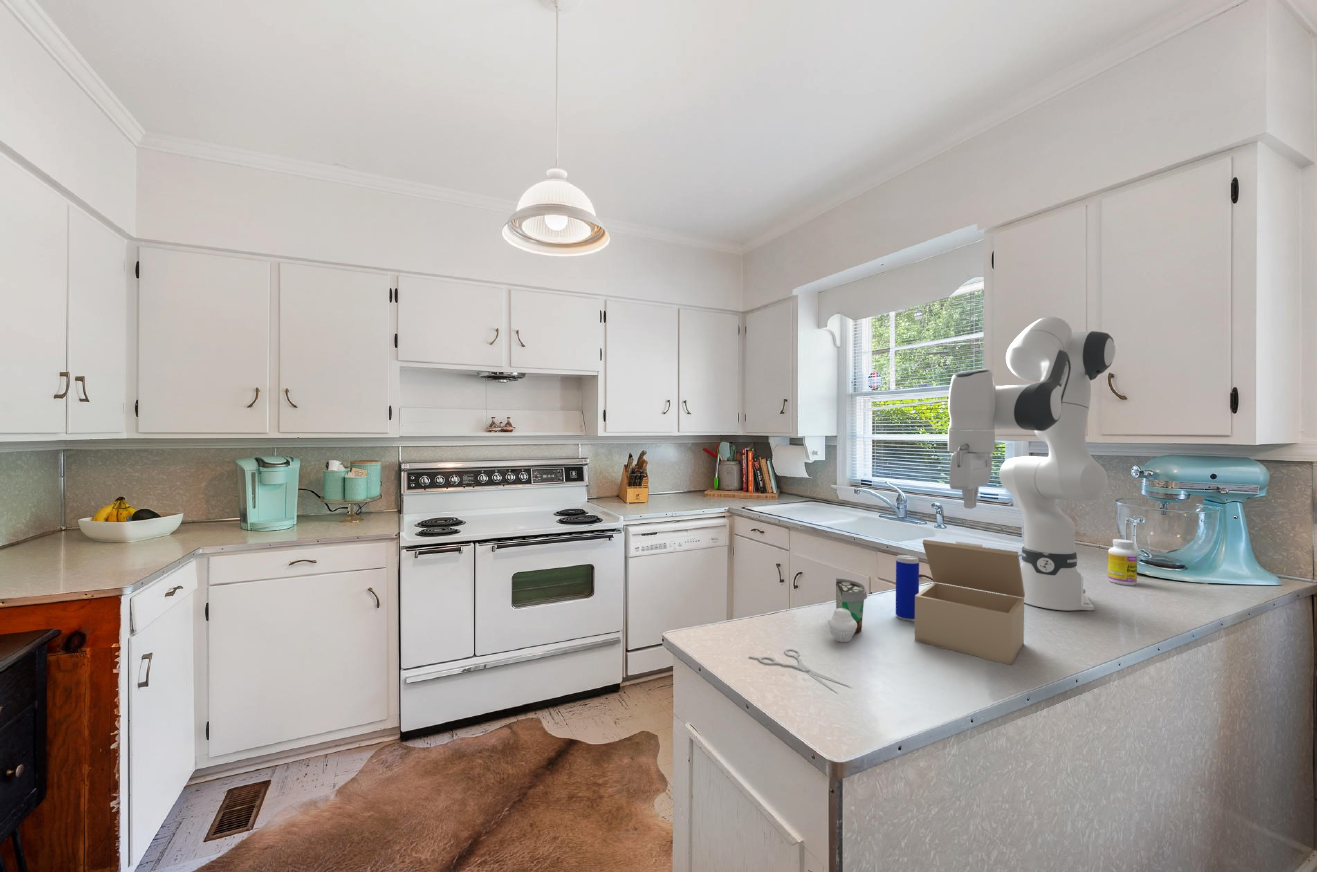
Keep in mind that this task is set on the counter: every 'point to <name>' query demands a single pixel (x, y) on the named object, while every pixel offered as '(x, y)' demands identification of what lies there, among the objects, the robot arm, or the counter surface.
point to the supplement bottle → (1122, 563)
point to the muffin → (842, 625)
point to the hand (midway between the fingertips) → (970, 507)
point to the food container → (851, 599)
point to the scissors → (798, 667)
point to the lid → (975, 567)
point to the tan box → (970, 621)
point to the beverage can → (906, 586)
